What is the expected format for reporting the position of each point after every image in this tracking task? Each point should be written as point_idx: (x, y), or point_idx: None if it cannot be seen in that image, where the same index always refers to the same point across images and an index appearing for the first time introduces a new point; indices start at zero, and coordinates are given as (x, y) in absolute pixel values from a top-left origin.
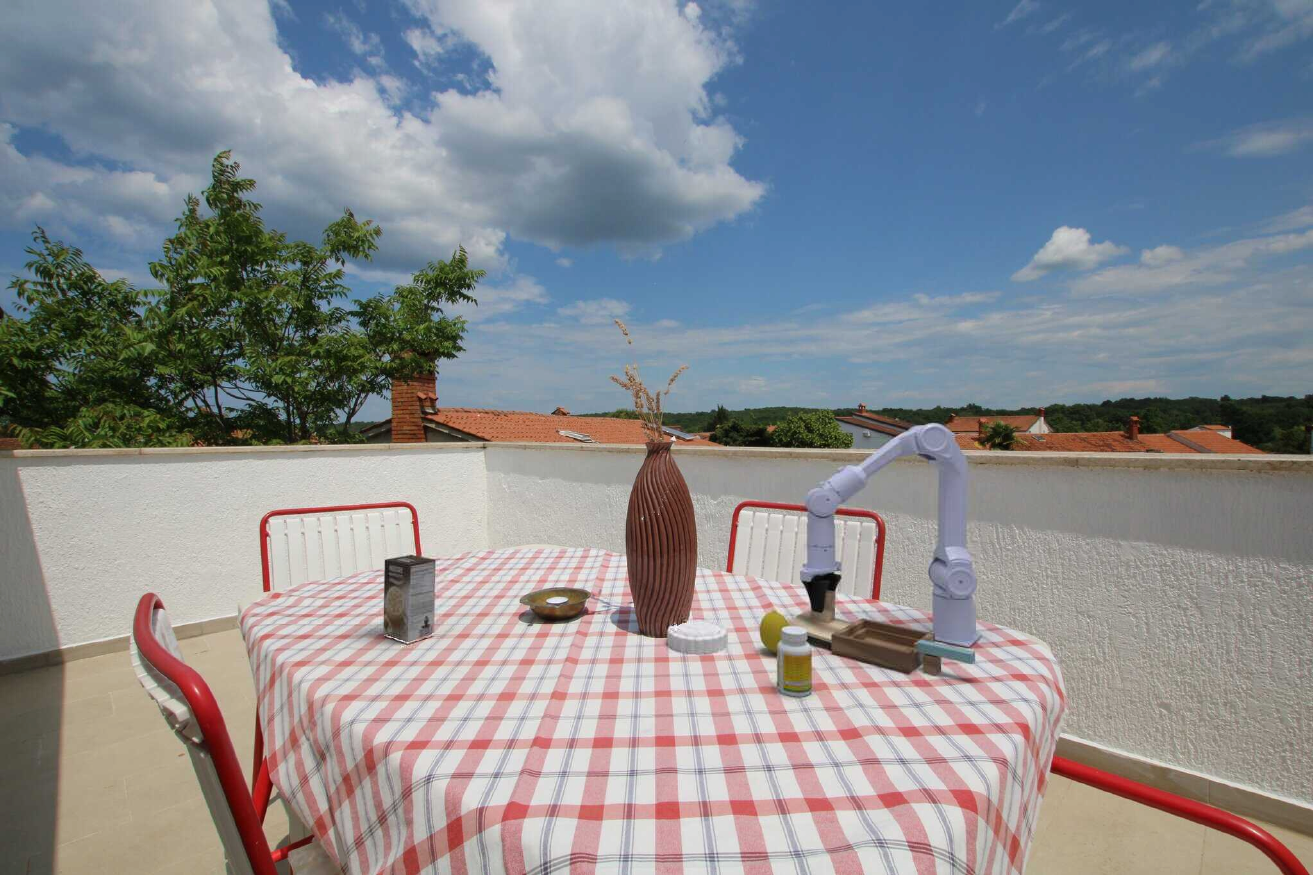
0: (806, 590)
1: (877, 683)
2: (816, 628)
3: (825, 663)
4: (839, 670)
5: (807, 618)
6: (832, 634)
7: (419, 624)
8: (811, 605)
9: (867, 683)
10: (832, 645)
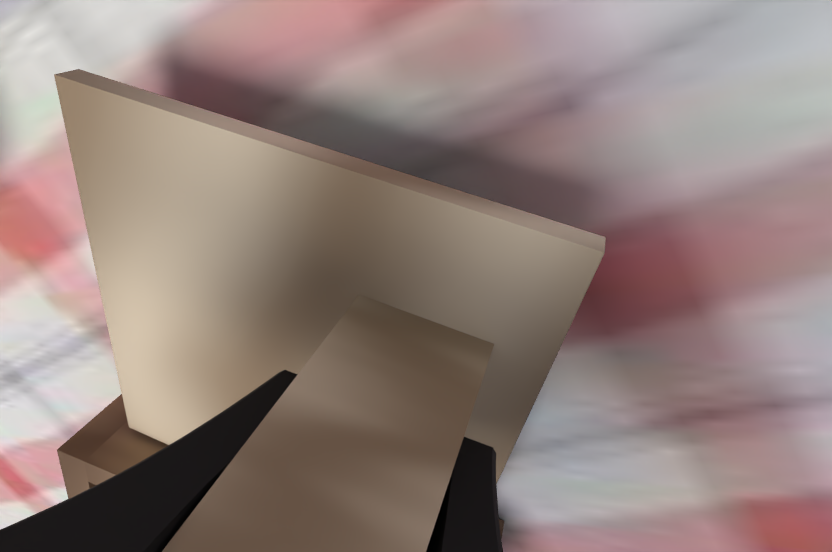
0: (37, 514)
1: (33, 494)
2: (202, 347)
3: (32, 357)
4: (21, 403)
5: (343, 272)
6: (64, 454)
7: None
8: (238, 402)
9: (10, 471)
10: (107, 411)
